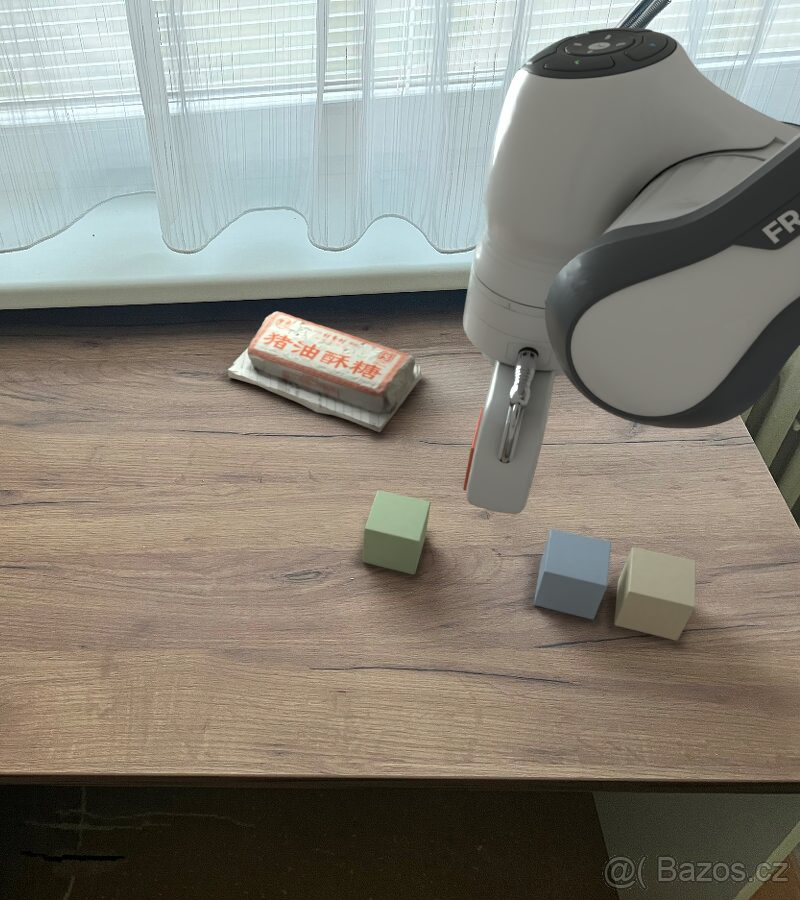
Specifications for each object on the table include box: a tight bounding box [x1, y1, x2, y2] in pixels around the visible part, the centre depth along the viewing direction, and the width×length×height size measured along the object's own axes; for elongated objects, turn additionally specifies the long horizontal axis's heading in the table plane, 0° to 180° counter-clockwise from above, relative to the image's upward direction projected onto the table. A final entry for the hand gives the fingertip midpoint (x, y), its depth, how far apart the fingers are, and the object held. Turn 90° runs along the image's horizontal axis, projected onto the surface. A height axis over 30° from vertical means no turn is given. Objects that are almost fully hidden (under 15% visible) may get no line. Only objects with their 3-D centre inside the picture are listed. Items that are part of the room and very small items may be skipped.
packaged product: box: [226, 311, 423, 433], centre depth 90 cm, size 18×5×10 cm
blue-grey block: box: [533, 528, 612, 620], centre depth 69 cm, size 4×4×4 cm
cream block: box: [613, 546, 697, 641], centre depth 67 cm, size 4×4×4 cm
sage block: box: [361, 489, 432, 576], centre depth 74 cm, size 4×4×4 cm
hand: (502, 459), depth 64 cm, fingers closed on coral block, 4 cm apart
